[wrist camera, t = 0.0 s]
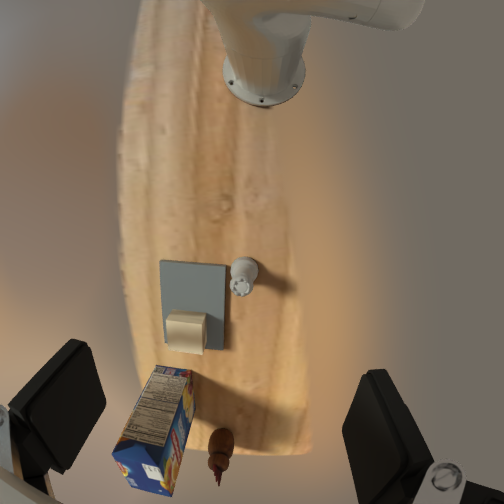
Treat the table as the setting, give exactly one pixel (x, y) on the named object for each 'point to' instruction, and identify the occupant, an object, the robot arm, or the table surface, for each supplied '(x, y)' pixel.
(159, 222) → the table surface
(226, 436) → the wooden figurine
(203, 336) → the beech block
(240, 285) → the rook chess piece
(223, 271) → the plate
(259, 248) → the table surface
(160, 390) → the juice carton
